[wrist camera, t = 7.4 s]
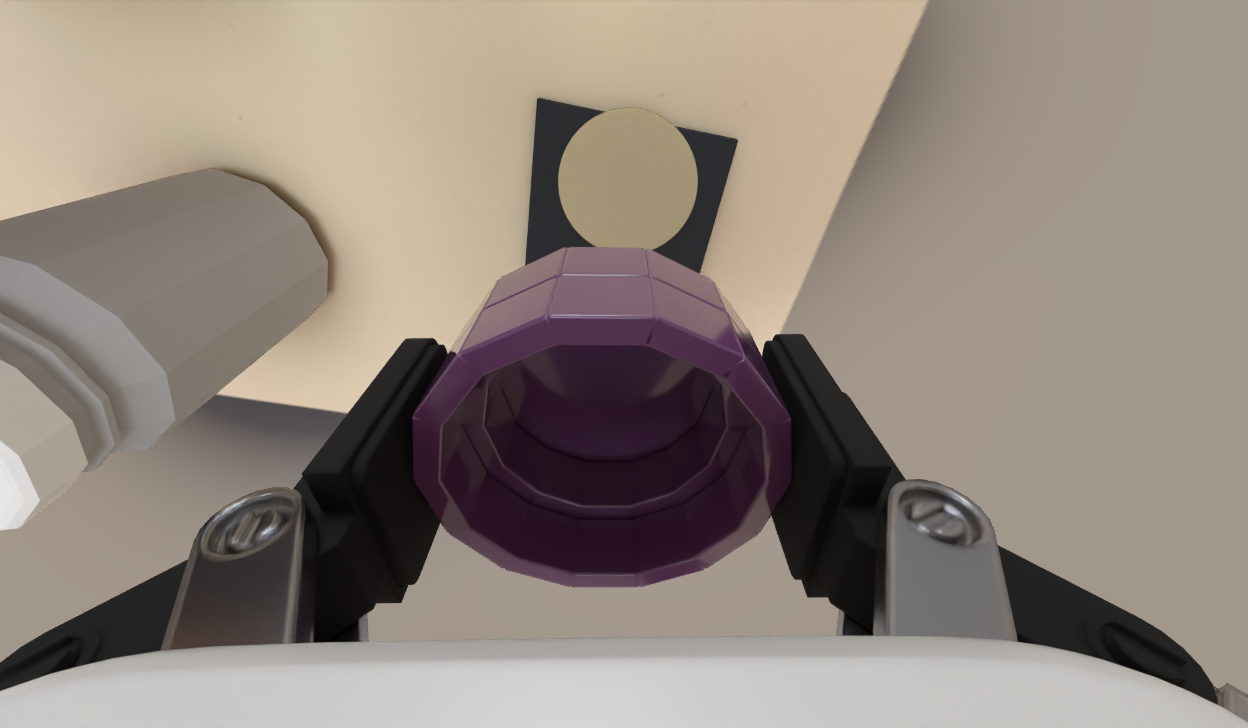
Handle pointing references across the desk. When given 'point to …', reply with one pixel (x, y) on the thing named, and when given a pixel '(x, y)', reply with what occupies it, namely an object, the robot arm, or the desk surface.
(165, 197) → the jar
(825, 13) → the desk surface
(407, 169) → the desk surface
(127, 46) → the desk surface
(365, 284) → the desk surface
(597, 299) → the plum dish
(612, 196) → the mat
